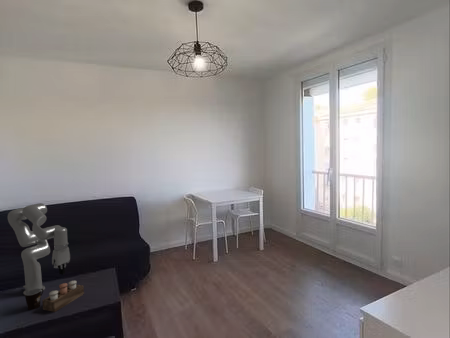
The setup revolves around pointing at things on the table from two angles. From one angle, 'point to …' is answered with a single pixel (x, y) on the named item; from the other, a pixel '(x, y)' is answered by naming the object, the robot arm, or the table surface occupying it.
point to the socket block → (63, 299)
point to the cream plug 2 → (72, 284)
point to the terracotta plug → (63, 288)
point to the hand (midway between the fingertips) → (62, 273)
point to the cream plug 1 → (53, 295)
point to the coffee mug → (33, 298)
